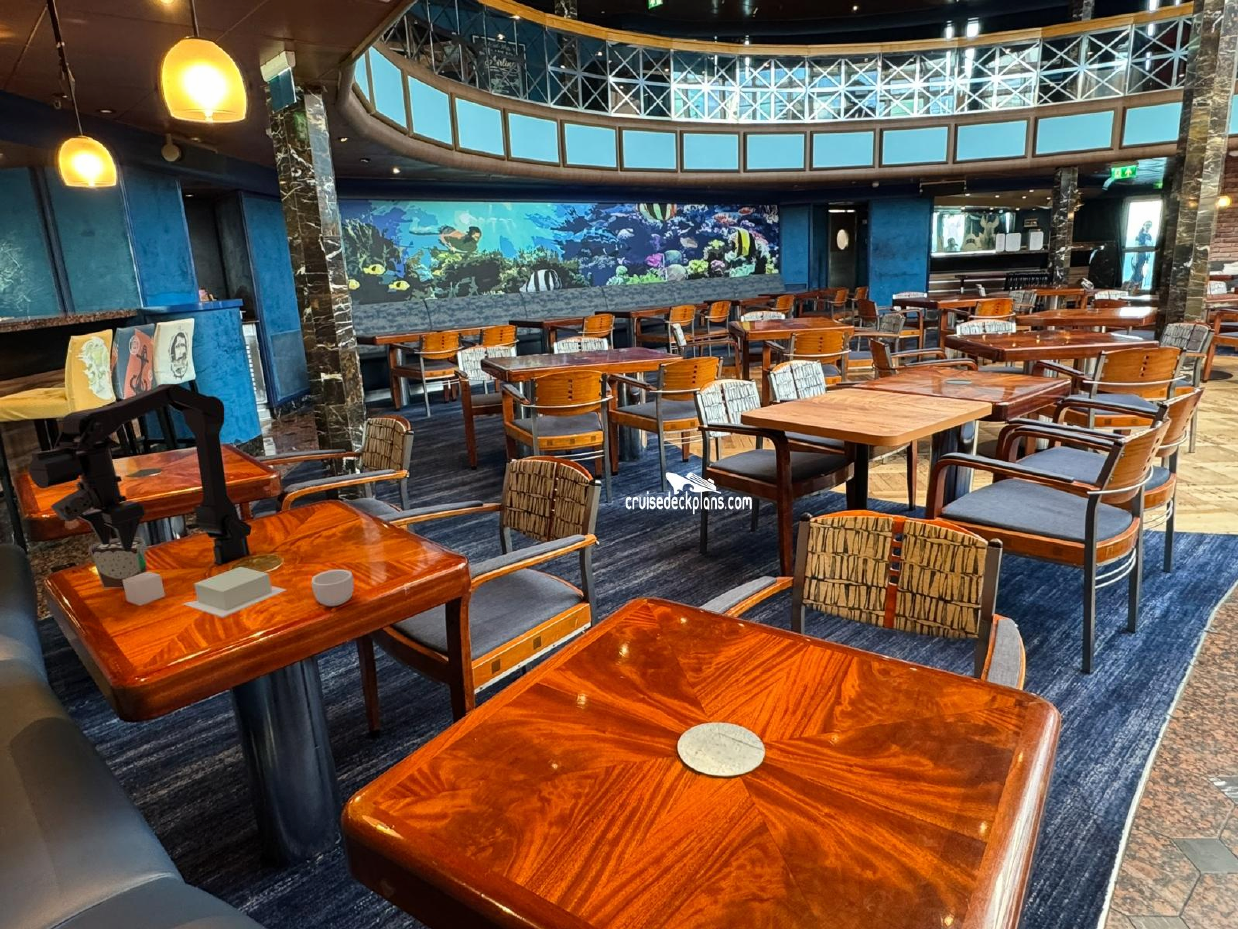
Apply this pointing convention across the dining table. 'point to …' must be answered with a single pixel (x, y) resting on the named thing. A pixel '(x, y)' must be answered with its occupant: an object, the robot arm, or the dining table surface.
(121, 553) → the food container
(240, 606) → the base plate
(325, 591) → the teacup
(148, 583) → the pink brick
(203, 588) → the base brick
